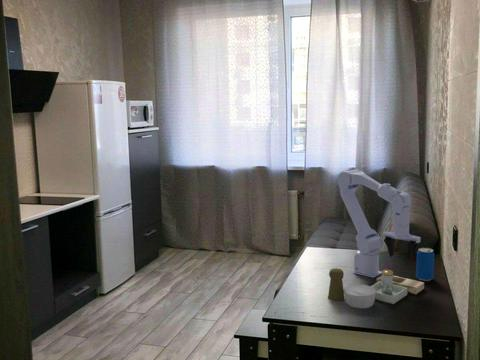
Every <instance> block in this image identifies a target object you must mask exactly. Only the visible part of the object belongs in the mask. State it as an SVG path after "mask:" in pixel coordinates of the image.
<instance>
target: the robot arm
mask: <svg viewBox="0 0 480 360" xmlns="http://www.w3.org/2000/svg"><path fill="white" fill-rule="evenodd" d="M336 182H337V184H338V188H339V195H340V197H341V199H342V201H343V203H344V205H345V207H346V210H347V212H348V214H349V216H350V219H351V221H352V223H353V225H354V227H355V230H356V232H357V234H356V236H355V240H356V246H357V251H356V253H355V254H354V259H353V260H354V261H353V262H354V263H353V264H354V265H353V267H354V268H353V272H352V273H353V274H357V275H359V276H360V275H361V276H363V277H364V276H365V277H369V278H376V277H379V276H380V275H382V270H379V268H380V267H379V266H380V265H379V262H380V261H379V260H380V259H379V258H380V250H381V249H382V248H383V246H384V244H383V242H384V243H385V245H386V247H387V251H388V254H389V257H391V258H392V257H394V255H395V241H396V240H400V241H401V240H402V241H408V242H407V243H406V245H407V248H408V249H407V250H408V252H407V253H408V255H407V256H408V257H407V259H408V261H411V260H413V258H414V257H413V256H414V254H415V251H416V249H417V246H418V245H419V243H421V236H417V235H413V234H410V206H411V205H412V204H413V196H412V195H411V194H410V193H409V192H408V191H402V190H401V189H397V188H396V187H393V186H391V183H385V182H384V183H380V182H378V181H377V180H375V179H373V178H372V177H370V176H369V175H367V174H366V172H364V171H361V170H360V169H358V168H355V169H352V170H346V171H345V170H344V171H341V172H340V173H339V174H338V176H337V179H336ZM360 185H362V186H364V187H366V188H369V189H371V190H372V191H375V192H376V194H377V196H378V197H380V198H382V199H383V200H385V201H387V202H388V203H390V205H391V207H392V210H393V231H391V232H390V231H384V232H382V238H384V239H382V238H381V236H379V234H378V233H377V231H376V230H374V229H373V228H372V227H370V224H369V222H368V219H367V218H366V216H365V213H364V211H363V209H362V207H361V205H360V203H359V200H358V198H357V196H356V191H357V190H358V188H359V187H360Z"/></svg>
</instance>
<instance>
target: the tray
mask: <svg viewBox="0 0 480 360" xmlns="http://www.w3.org/2000/svg"><path fill="white" fill-rule="evenodd" d="M381 283H382V282H381V281H379V282H377V281H376V282H375V283H374V284H373V285H370V286H371V287H373V288H375V290H376V295H375V300H377V301H379V302H380V301H381V302H384V303H388V304H392V305H394V304H396V303H397V302H399V301H401V300H402V299H403V298H404V297H406V296H408V292H407V288H406V287H402V286H397V285H393V294H392V295H386V294H382V293H381Z"/></svg>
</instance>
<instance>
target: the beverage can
mask: <svg viewBox="0 0 480 360" xmlns="http://www.w3.org/2000/svg"><path fill="white" fill-rule="evenodd" d="M434 268H435V252H434V249H432V248H430V247H421V248H418V250H417V252H416V268H415V269H416V270H415V271H416V272H415V277H416V278H417V279H418V281H421V282H423V281H424V282H429V281H432V280H434Z"/></svg>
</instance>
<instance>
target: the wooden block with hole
mask: <svg viewBox="0 0 480 360" xmlns="http://www.w3.org/2000/svg"><path fill="white" fill-rule="evenodd" d="M379 281H381V282H382V274H380V275H379V276H377V278H376V283H377V282H379ZM393 285H397V286H402V287H406V288H407V293H409V292H410V294H413V295H417V294H419V293H420V292H421V291H423V290H424V289H425V281H424V282H423V281H421V280H415V279H412V278H411V279H410V278H406V277H401V276H398V275H394V274H393Z"/></svg>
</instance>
